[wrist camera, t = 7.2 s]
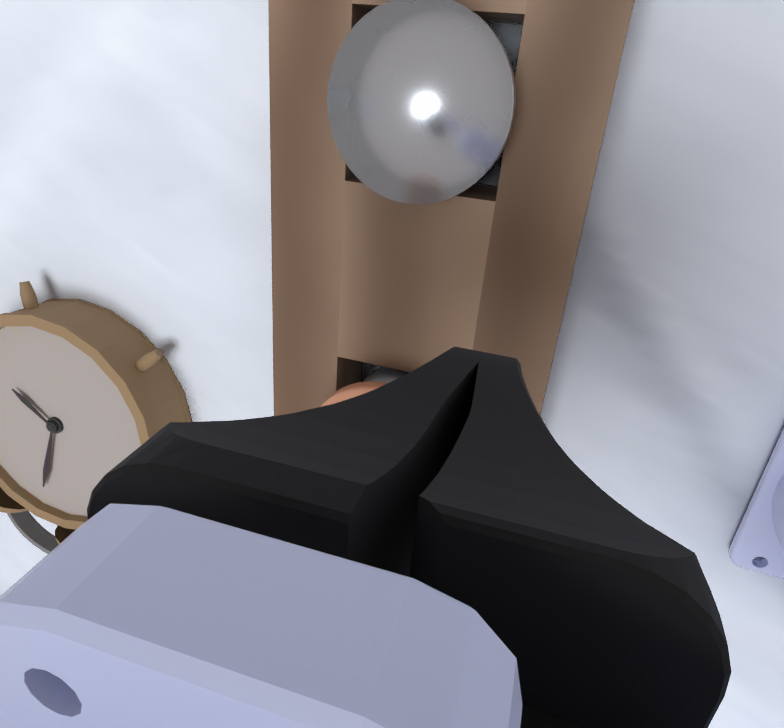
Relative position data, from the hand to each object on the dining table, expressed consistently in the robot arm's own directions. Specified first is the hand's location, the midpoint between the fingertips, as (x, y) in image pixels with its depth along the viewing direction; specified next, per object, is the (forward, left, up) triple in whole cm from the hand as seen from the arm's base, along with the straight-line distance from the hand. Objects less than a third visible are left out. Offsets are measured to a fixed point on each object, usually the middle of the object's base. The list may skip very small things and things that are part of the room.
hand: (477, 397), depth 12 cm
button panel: (+4, +1, -10) cm, 11 cm away
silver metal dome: (+4, -5, -10) cm, 12 cm away
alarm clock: (+21, +12, -11) cm, 26 cm away
